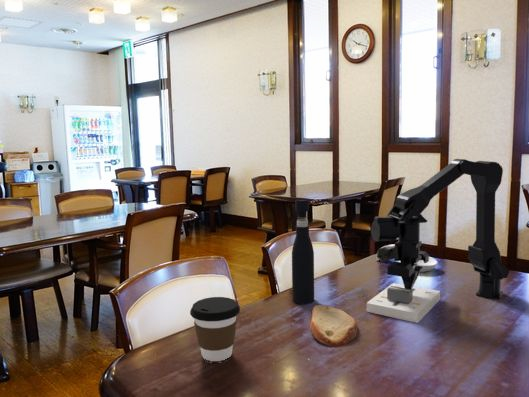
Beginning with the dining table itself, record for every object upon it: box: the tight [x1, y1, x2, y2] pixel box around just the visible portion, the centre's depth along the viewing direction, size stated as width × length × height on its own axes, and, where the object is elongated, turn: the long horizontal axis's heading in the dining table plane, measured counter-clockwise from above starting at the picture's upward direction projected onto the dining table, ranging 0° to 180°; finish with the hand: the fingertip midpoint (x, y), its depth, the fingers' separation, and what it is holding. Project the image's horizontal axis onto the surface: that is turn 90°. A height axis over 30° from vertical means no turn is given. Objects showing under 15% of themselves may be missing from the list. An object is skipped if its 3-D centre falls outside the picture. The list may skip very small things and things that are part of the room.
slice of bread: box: [309, 304, 358, 348], centre depth 116 cm, size 18×18×4 cm
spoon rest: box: [375, 243, 439, 273], centre depth 166 cm, size 24×12×7 cm, turn 39°
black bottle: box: [291, 198, 315, 305], centre depth 133 cm, size 6×6×30 cm
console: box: [365, 282, 441, 324], centre depth 129 cm, size 20×14×3 cm
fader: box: [387, 286, 413, 304], centre depth 125 cm, size 3×6×3 cm, turn 54°
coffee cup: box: [189, 296, 241, 361], centre depth 101 cm, size 11×11×12 cm
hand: (408, 291), depth 130 cm, fingers closed
